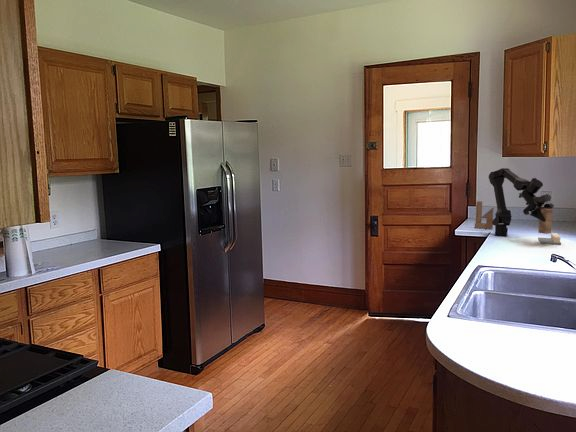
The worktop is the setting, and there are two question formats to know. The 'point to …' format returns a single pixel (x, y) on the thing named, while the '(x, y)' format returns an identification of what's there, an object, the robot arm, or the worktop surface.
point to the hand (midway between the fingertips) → (547, 221)
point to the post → (546, 226)
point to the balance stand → (551, 239)
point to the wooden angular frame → (479, 216)
